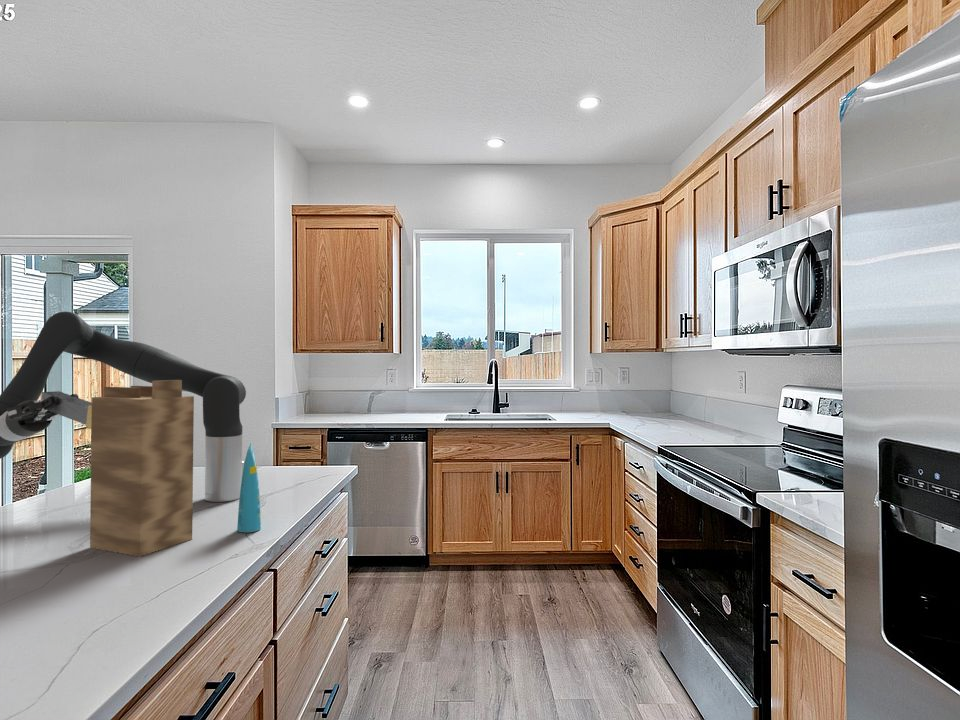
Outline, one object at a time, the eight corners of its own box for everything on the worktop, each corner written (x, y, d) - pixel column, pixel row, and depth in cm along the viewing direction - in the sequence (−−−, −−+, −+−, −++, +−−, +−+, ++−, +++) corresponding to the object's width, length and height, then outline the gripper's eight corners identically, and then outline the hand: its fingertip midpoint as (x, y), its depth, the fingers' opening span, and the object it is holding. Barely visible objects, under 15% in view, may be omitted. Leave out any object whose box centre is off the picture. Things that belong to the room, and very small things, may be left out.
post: (144, 531, 127) (146, 378, 127) (192, 539, 122) (193, 379, 122) (89, 547, 116) (91, 379, 116) (139, 556, 110) (141, 381, 111)
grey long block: (62, 406, 132) (64, 386, 132) (121, 427, 123) (123, 407, 123) (35, 407, 127) (37, 387, 127) (94, 430, 118) (97, 409, 118)
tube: (262, 533, 126) (263, 445, 126) (238, 535, 124) (239, 446, 124) (259, 524, 133) (259, 440, 133) (236, 526, 131) (237, 441, 131)
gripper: (-16, 408, 128) (27, 383, 121) (53, 403, 140) (96, 381, 134) (-10, 440, 127) (34, 418, 120) (59, 433, 139) (103, 412, 133)
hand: (66, 398), depth 127 cm, fingers closed on grey long block, 3 cm apart
